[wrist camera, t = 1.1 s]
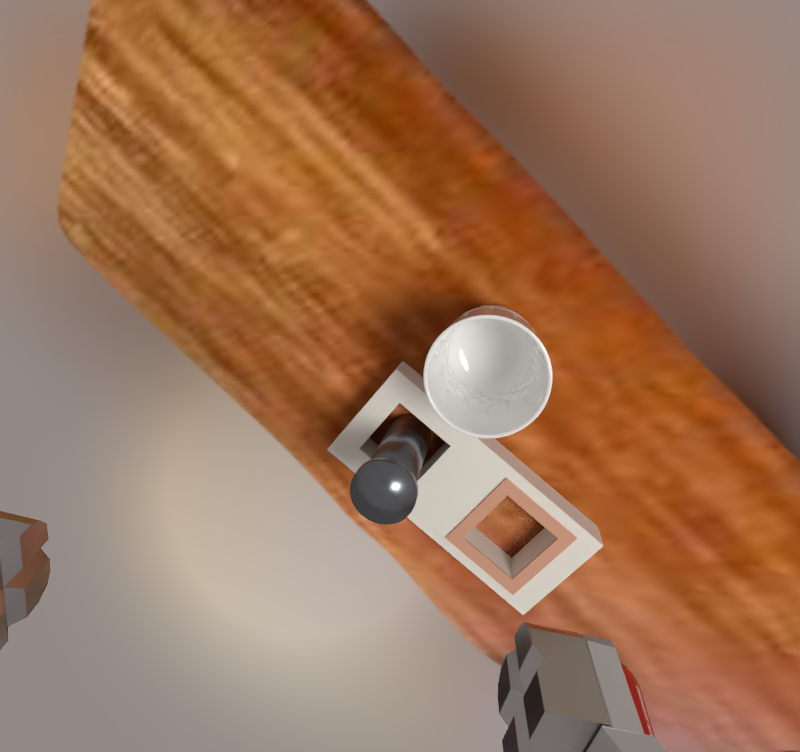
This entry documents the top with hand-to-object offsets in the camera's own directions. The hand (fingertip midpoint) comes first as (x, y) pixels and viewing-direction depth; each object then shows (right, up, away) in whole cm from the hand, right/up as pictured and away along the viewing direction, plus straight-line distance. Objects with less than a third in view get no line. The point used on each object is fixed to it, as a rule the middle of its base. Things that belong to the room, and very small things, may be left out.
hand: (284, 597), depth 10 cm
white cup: (+9, +6, +35) cm, 37 cm away
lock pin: (+3, -1, +38) cm, 38 cm away
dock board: (+7, -5, +38) cm, 39 cm away
